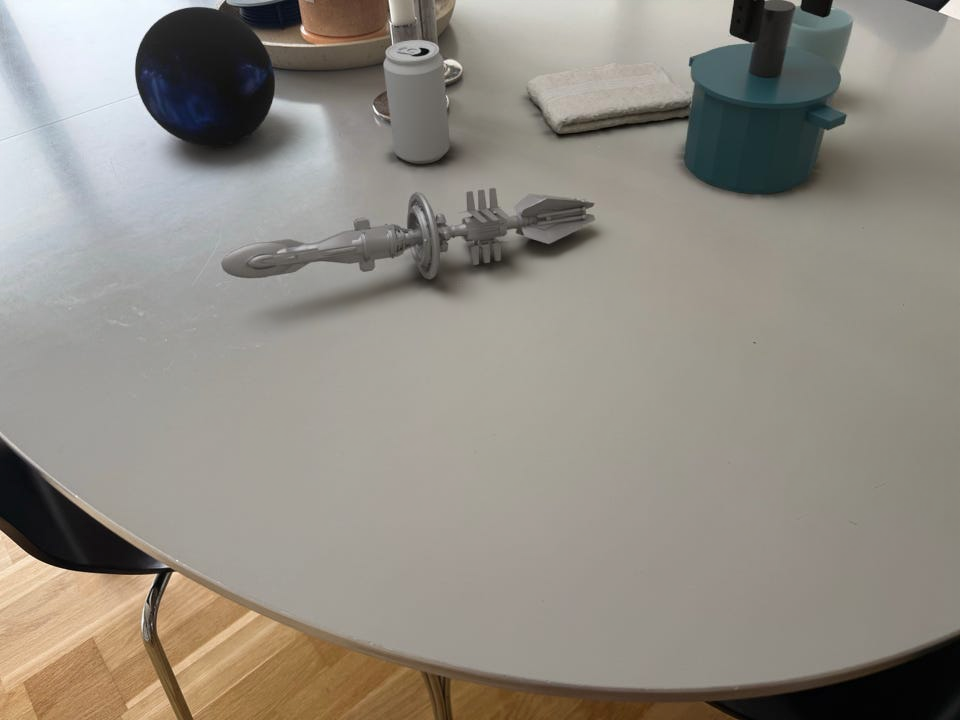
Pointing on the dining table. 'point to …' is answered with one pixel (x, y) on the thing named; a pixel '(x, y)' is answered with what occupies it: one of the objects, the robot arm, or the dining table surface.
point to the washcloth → (608, 96)
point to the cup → (822, 34)
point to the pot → (755, 143)
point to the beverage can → (417, 101)
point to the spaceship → (418, 236)
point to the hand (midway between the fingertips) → (779, 25)
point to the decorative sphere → (204, 76)
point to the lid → (767, 68)
